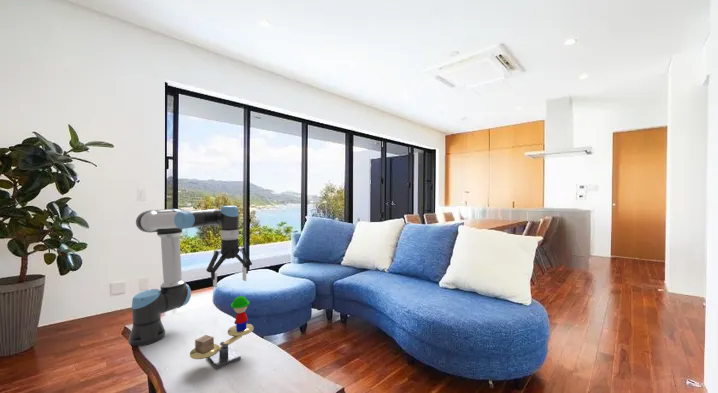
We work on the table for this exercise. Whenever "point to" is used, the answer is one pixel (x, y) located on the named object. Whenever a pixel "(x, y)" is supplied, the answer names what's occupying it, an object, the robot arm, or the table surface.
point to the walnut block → (204, 344)
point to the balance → (224, 349)
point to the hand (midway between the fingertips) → (230, 283)
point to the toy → (240, 312)
